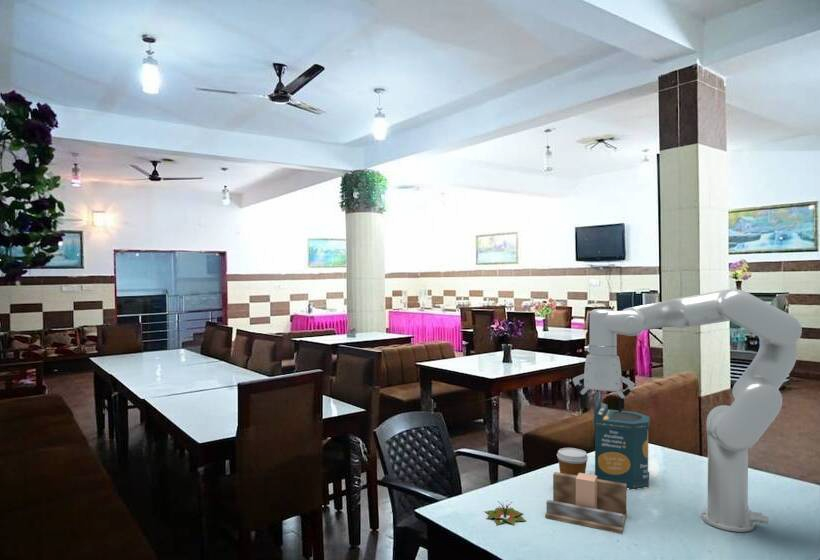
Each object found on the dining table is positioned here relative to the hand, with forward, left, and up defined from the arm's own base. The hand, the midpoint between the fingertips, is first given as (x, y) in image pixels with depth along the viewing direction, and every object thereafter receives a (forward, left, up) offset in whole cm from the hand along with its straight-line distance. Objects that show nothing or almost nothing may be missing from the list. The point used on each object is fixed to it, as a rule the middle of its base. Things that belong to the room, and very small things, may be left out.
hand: (602, 409), depth 159 cm
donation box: (-3, -24, -29) cm, 37 cm away
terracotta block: (+3, +10, -27) cm, 29 cm away
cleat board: (+3, +10, -28) cm, 30 cm away
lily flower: (+23, +21, -29) cm, 43 cm away
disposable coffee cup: (+10, -7, -28) cm, 31 cm away
